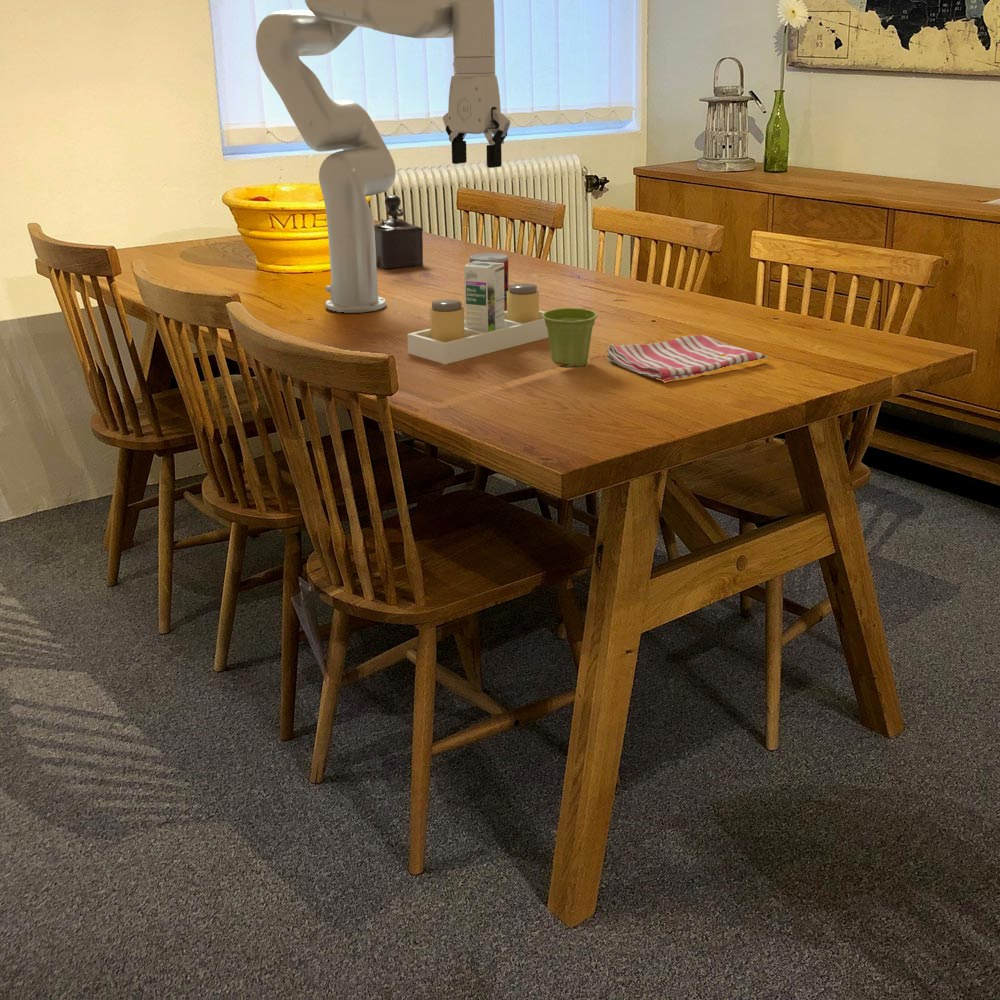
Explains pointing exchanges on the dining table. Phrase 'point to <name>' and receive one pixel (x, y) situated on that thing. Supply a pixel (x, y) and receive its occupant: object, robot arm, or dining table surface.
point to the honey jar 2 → (522, 303)
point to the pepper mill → (397, 239)
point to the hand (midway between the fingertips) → (476, 165)
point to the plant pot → (570, 334)
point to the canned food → (495, 259)
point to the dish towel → (679, 357)
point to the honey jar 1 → (447, 320)
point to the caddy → (476, 341)
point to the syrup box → (484, 296)
